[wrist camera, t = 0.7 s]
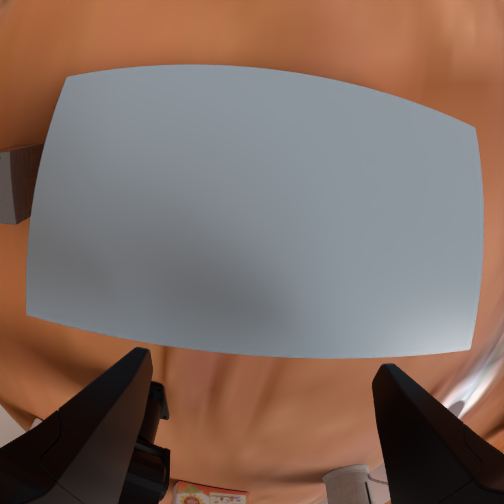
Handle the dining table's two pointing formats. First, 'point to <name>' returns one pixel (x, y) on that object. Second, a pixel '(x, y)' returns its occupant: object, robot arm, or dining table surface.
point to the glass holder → (350, 485)
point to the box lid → (256, 215)
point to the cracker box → (206, 495)
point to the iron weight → (18, 181)
